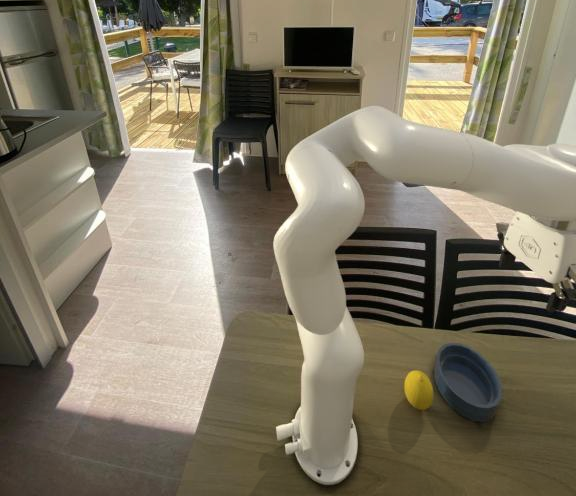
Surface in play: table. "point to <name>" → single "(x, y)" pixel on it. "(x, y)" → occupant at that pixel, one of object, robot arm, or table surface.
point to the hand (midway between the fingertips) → (527, 286)
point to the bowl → (467, 382)
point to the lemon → (418, 390)
